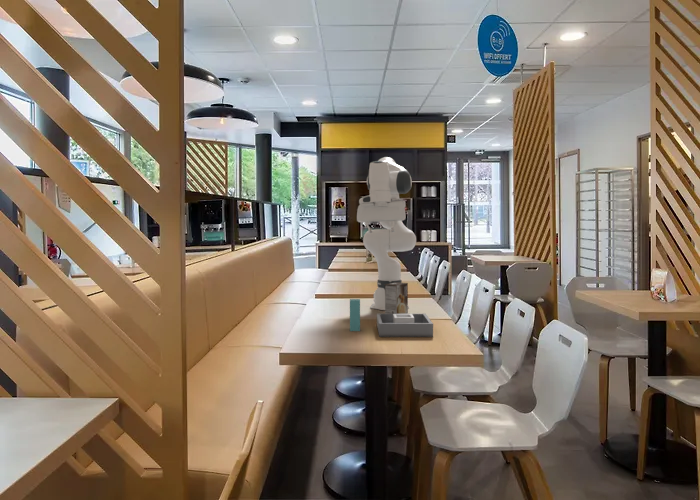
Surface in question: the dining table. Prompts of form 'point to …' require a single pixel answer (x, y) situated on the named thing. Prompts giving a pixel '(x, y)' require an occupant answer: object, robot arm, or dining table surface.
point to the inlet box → (404, 325)
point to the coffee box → (396, 298)
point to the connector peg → (354, 314)
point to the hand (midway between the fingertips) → (381, 232)
